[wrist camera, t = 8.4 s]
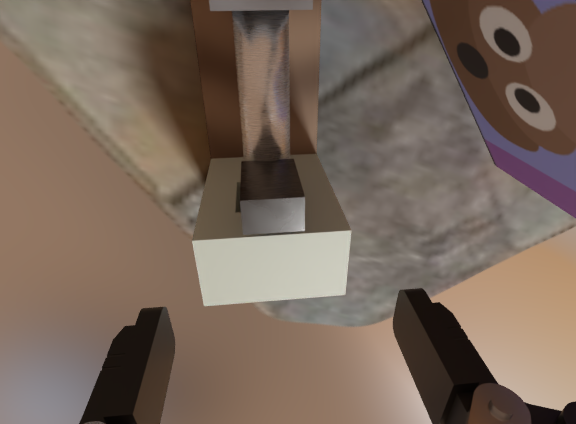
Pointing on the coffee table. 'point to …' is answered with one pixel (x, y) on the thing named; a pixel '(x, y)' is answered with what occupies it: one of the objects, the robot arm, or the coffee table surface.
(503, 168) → the cereal box
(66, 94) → the coffee table surface
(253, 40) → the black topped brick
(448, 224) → the coffee table surface
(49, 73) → the coffee table surface
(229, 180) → the socket block
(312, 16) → the board
